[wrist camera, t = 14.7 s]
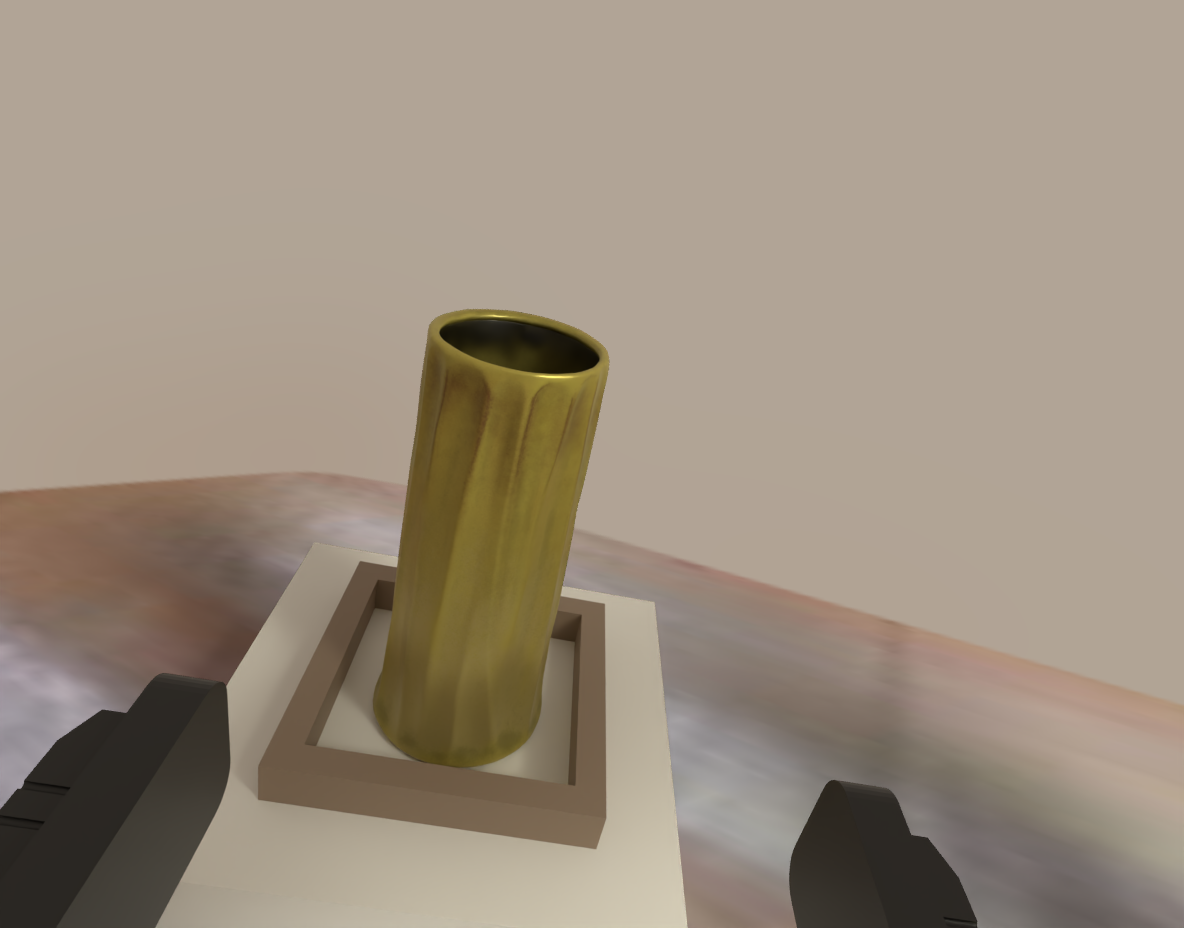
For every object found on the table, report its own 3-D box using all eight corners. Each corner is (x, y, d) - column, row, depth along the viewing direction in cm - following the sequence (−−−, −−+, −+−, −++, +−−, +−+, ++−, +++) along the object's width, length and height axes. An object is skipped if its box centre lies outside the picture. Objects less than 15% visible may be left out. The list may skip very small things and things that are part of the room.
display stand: (635, 665, 37) (662, 577, 35) (655, 1025, 23) (703, 920, 21) (311, 610, 36) (315, 514, 34) (123, 957, 22) (107, 836, 19)
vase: (543, 657, 31) (621, 327, 24) (534, 783, 25) (632, 401, 19) (394, 634, 30) (433, 289, 24) (352, 758, 25) (387, 354, 18)
